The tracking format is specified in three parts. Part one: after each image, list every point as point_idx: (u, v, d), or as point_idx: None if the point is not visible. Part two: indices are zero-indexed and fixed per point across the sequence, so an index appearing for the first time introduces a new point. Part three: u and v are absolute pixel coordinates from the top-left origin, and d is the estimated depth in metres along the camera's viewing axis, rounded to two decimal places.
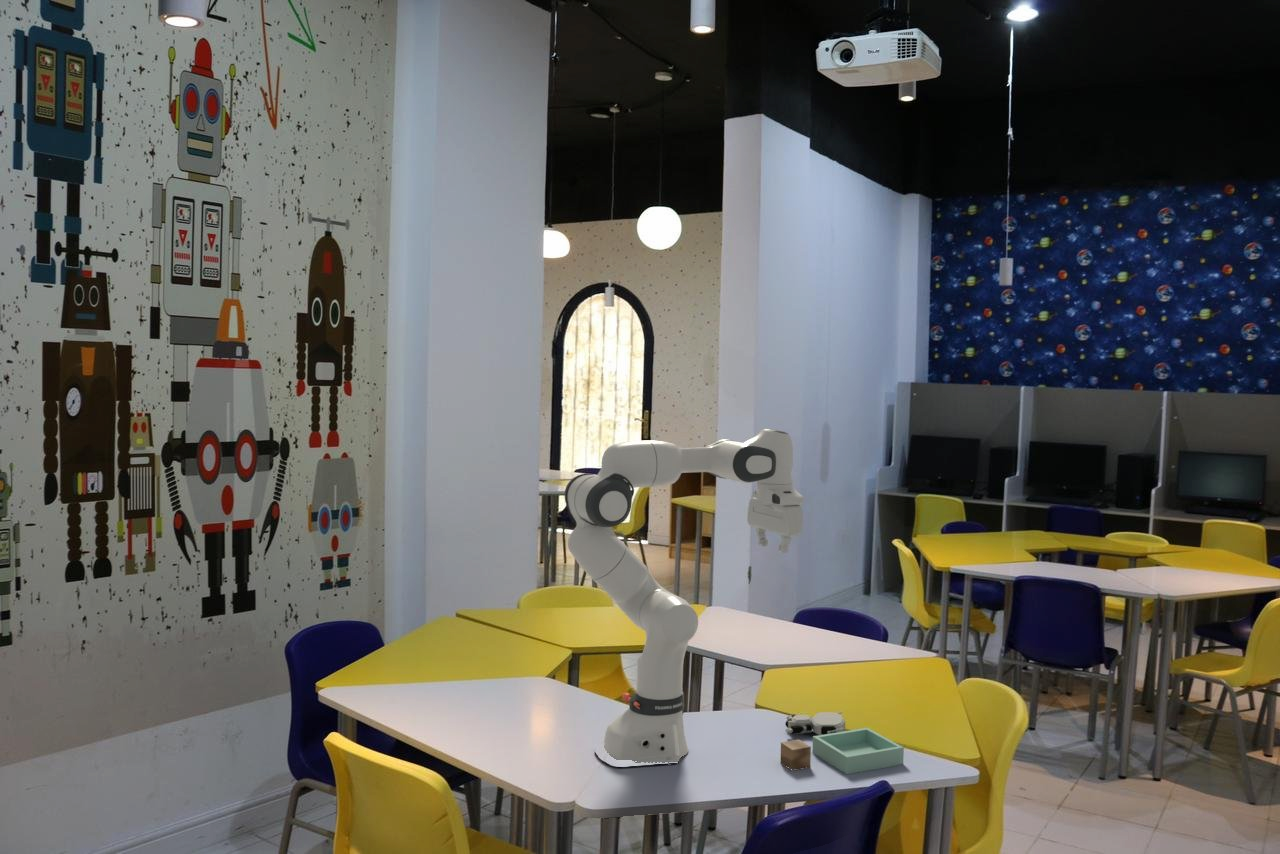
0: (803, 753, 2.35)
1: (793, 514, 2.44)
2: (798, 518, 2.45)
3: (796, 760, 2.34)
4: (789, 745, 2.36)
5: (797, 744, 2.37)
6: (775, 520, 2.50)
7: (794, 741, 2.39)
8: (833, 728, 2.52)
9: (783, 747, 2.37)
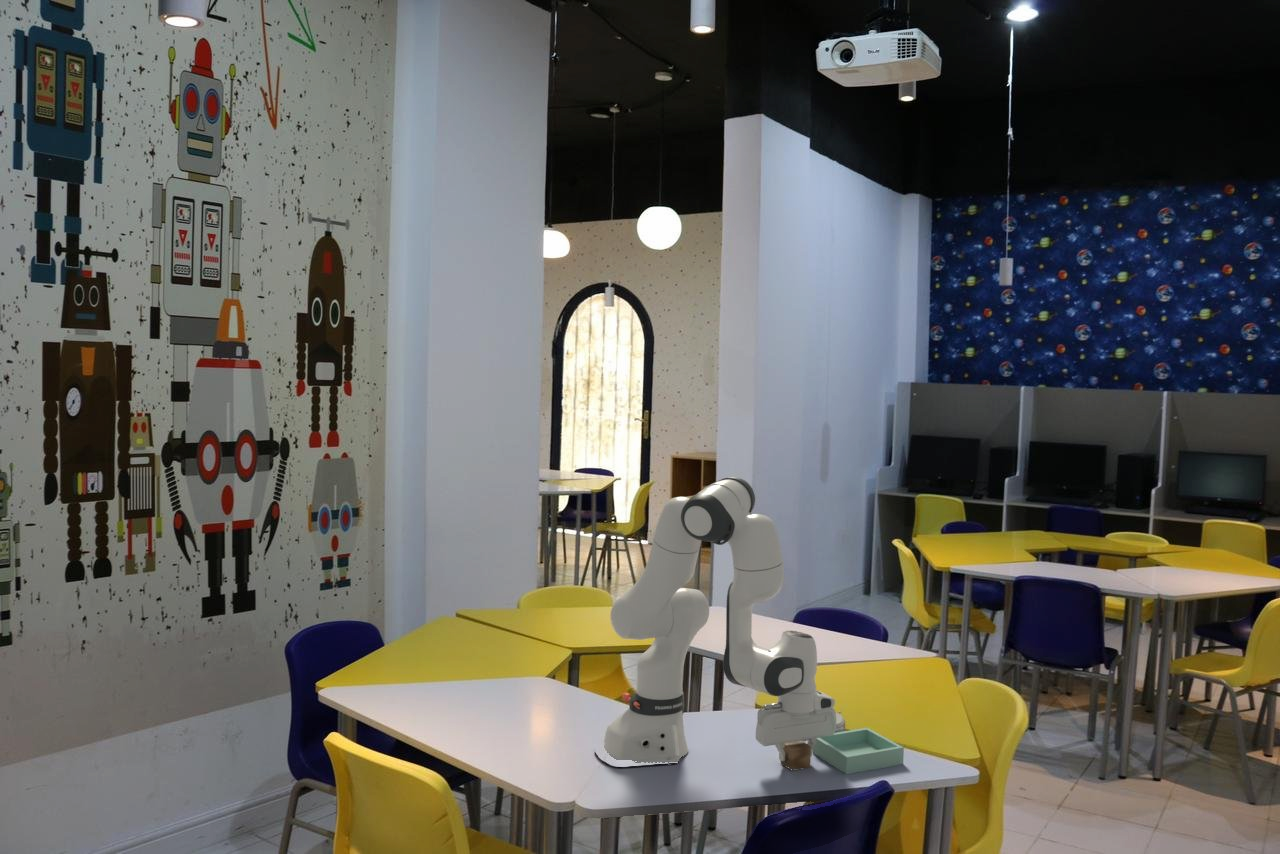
0: (803, 753, 2.35)
1: None
2: None
3: (796, 760, 2.34)
4: (790, 745, 2.36)
5: (797, 743, 2.37)
6: (813, 726, 2.36)
7: None
8: None
9: None
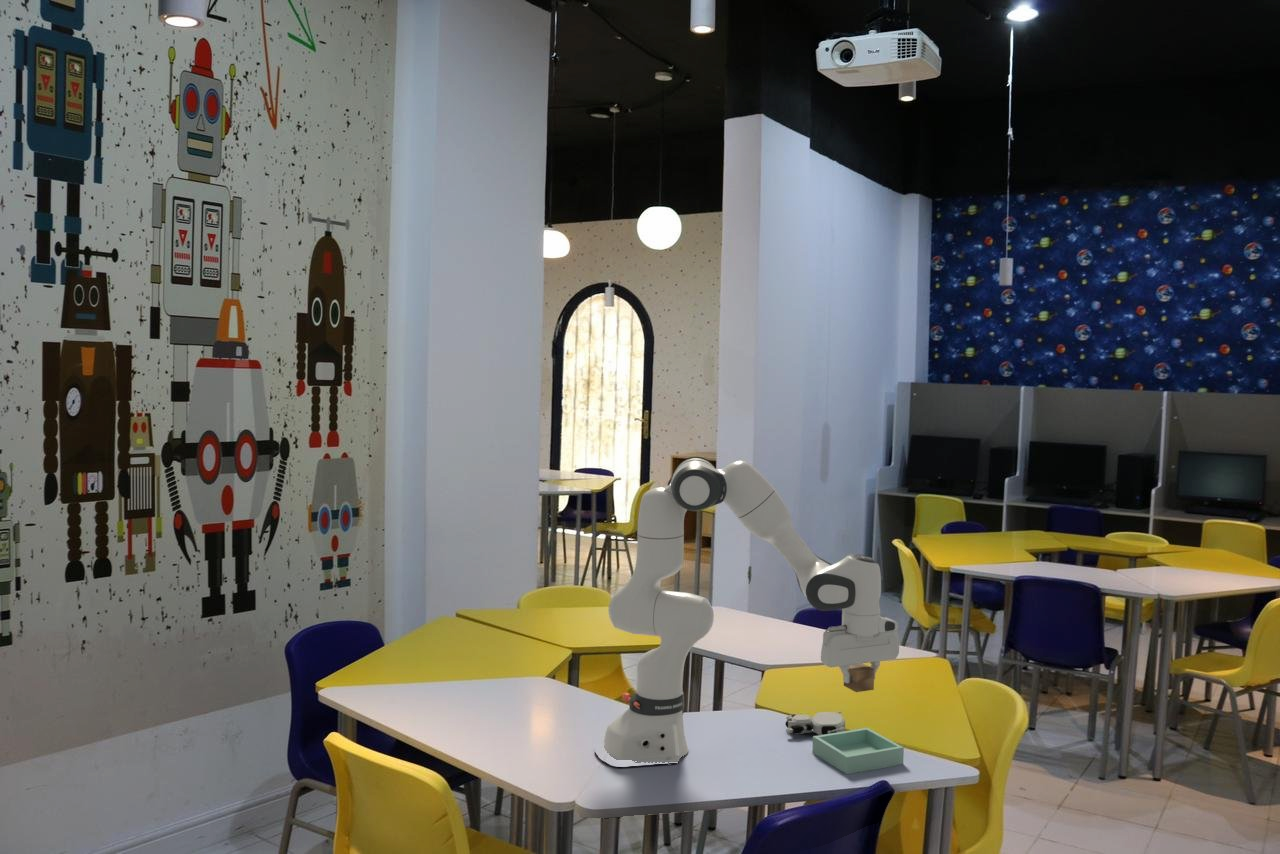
0: (867, 675, 2.38)
1: None
2: None
3: (860, 681, 2.38)
4: (853, 668, 2.39)
5: (861, 666, 2.41)
6: (877, 649, 2.40)
7: (857, 664, 2.42)
8: (833, 728, 2.52)
9: (847, 669, 2.40)
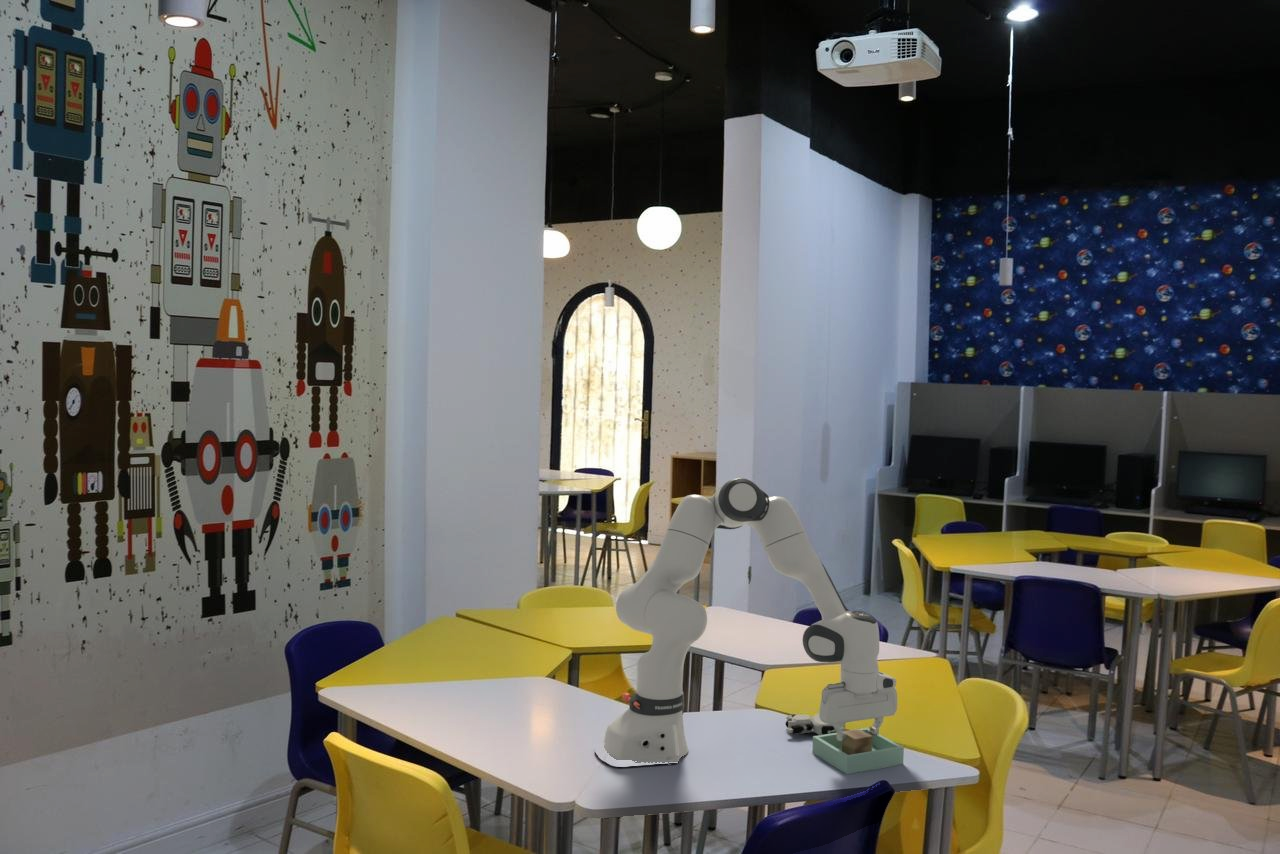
0: (865, 742, 2.40)
1: None
2: None
3: (858, 749, 2.39)
4: (851, 735, 2.41)
5: (858, 733, 2.42)
6: (875, 706, 2.41)
7: (855, 731, 2.43)
8: (833, 728, 2.52)
9: None
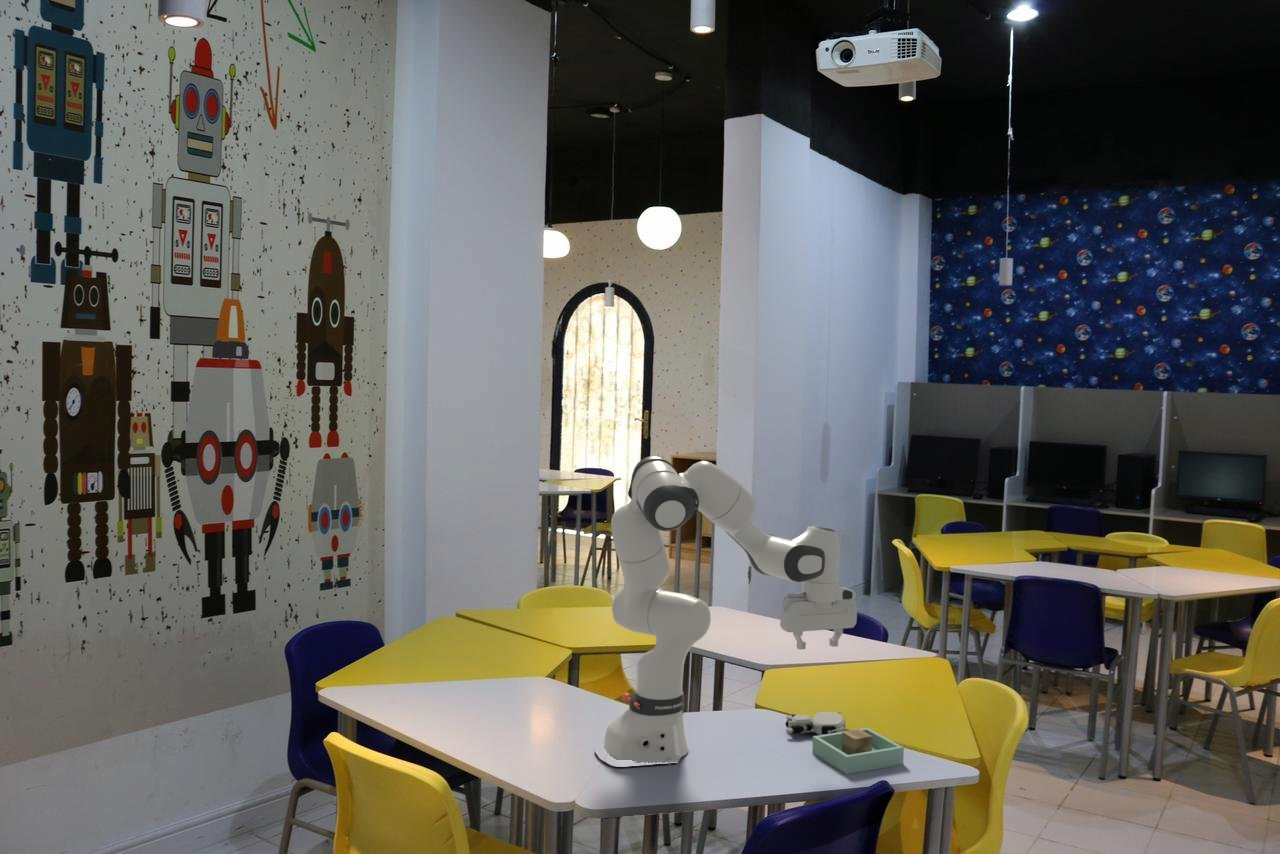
0: (865, 742, 2.40)
1: None
2: None
3: (858, 749, 2.39)
4: (851, 735, 2.41)
5: (858, 733, 2.42)
6: (835, 617, 2.49)
7: (855, 731, 2.43)
8: (833, 728, 2.52)
9: (845, 736, 2.42)
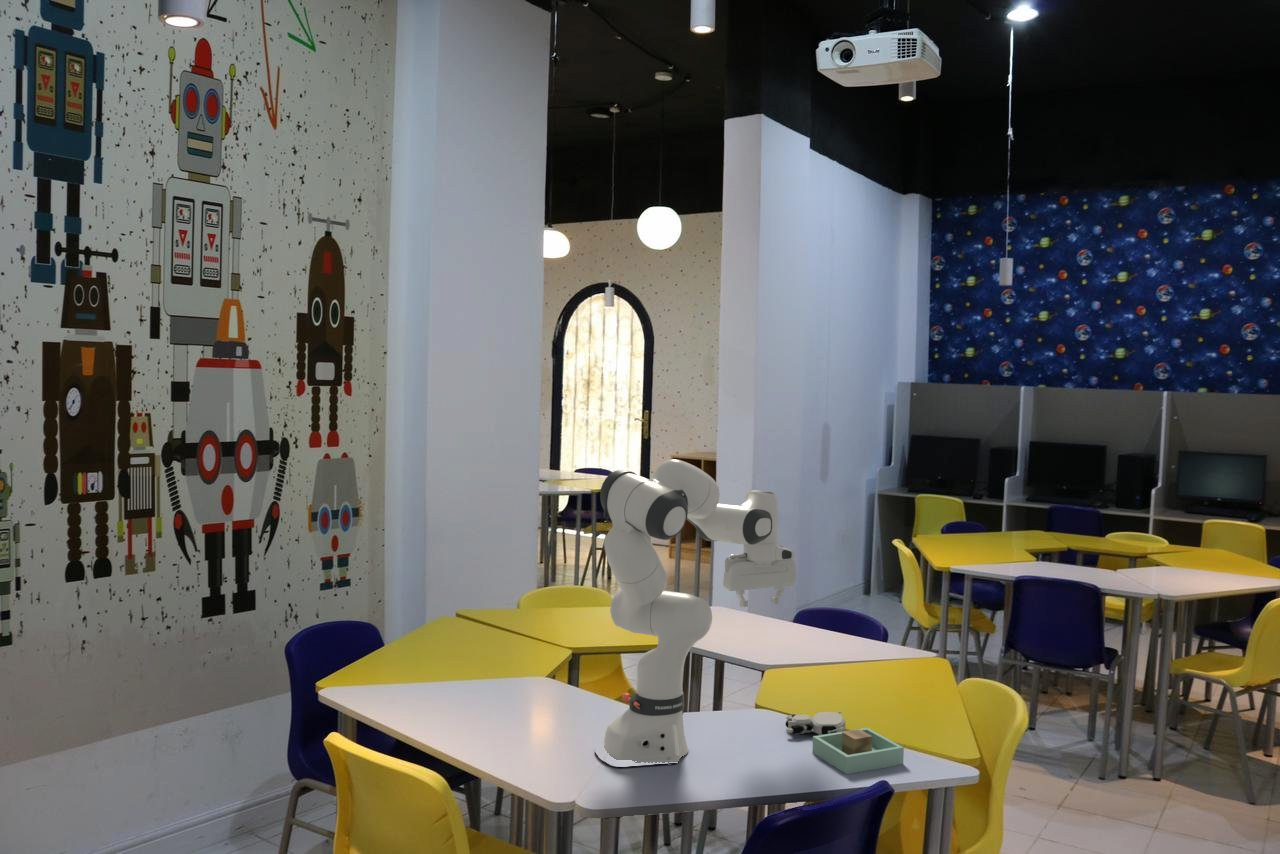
0: (865, 742, 2.40)
1: None
2: None
3: (858, 749, 2.39)
4: (851, 735, 2.41)
5: (858, 733, 2.42)
6: (775, 576, 2.62)
7: (855, 731, 2.43)
8: (833, 728, 2.52)
9: (845, 736, 2.42)
